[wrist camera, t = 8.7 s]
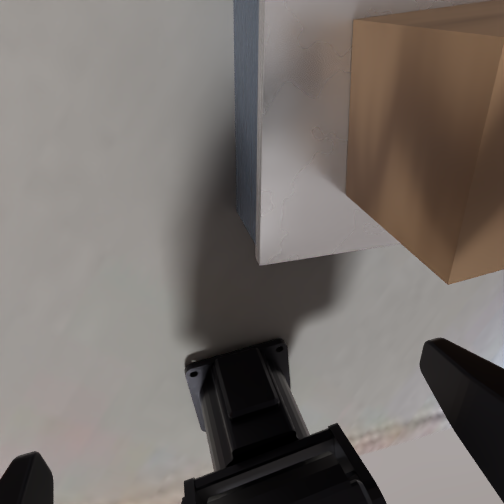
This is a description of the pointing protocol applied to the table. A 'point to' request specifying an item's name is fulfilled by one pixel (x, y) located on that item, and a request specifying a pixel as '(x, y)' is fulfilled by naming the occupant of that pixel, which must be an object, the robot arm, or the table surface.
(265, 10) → the slate tin
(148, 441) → the table surface
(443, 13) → the walnut block
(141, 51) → the table surface
